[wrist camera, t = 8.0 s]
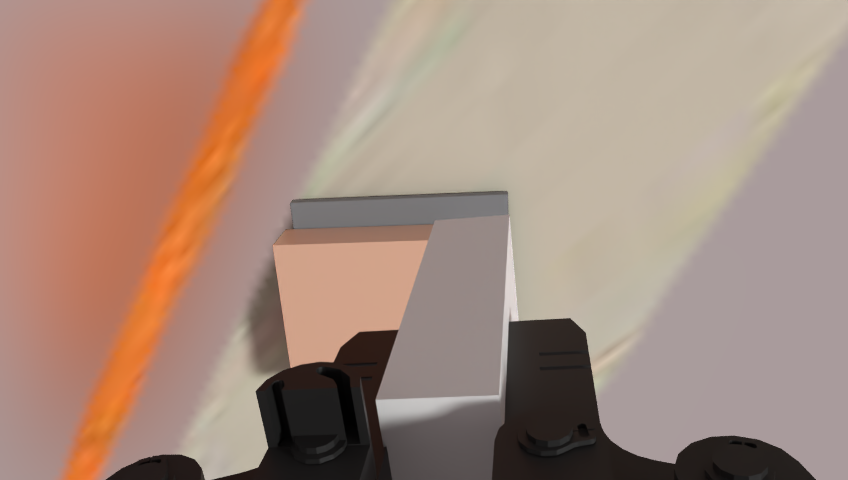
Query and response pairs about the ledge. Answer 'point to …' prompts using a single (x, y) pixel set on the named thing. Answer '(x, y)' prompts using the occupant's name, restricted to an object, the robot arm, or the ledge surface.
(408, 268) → the block
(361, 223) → the mat
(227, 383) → the ledge surface
